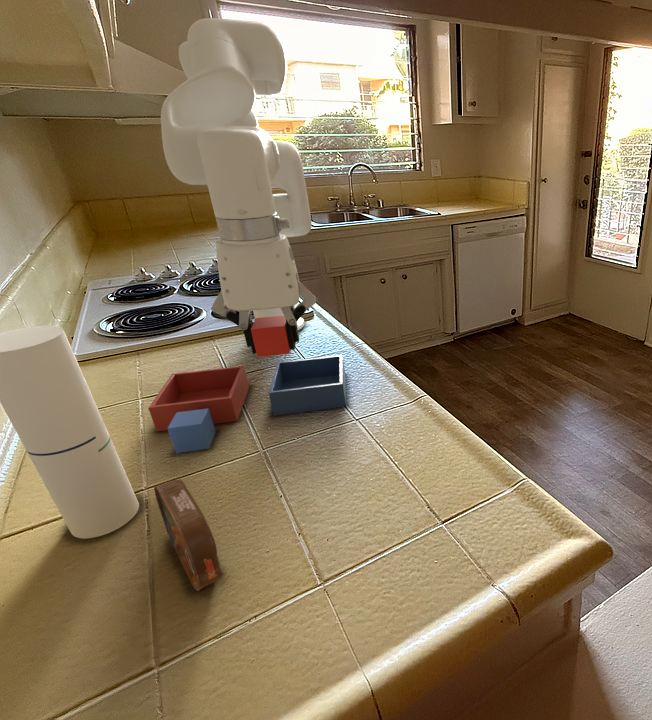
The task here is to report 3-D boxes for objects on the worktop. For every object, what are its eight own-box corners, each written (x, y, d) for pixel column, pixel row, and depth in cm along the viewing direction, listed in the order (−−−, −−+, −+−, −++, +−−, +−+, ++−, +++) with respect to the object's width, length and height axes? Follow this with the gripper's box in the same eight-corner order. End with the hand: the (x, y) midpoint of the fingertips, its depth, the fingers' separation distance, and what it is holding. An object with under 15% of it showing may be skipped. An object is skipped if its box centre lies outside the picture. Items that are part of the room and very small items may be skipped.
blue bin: (281, 382, 91) (276, 362, 89) (345, 375, 94) (342, 354, 92) (273, 416, 80) (268, 393, 78) (346, 406, 83) (342, 384, 81)
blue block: (184, 436, 75) (176, 412, 73) (215, 431, 76) (208, 408, 74) (176, 453, 71) (167, 428, 69) (209, 448, 72) (201, 424, 70)
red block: (261, 344, 73) (255, 317, 71) (292, 341, 74) (287, 315, 72) (257, 357, 69) (250, 329, 67) (289, 354, 70) (284, 326, 68)
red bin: (179, 395, 87) (171, 373, 85) (249, 386, 89) (244, 365, 87) (156, 431, 76) (147, 408, 74) (237, 420, 79) (231, 397, 77)
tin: (164, 528, 58) (143, 475, 54) (192, 515, 59) (173, 463, 56) (203, 608, 48) (179, 550, 44) (234, 589, 50) (215, 532, 46)
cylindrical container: (56, 529, 57) (-46, 347, 46) (113, 491, 63) (35, 322, 52) (97, 544, 55) (0, 357, 44) (152, 504, 61) (79, 330, 50)
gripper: (314, 221, 69) (331, 333, 77) (187, 226, 65) (220, 344, 73) (312, 231, 62) (331, 352, 71) (171, 237, 58) (209, 365, 67)
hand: (274, 347), depth 72 cm, fingers closed on red block, 4 cm apart
